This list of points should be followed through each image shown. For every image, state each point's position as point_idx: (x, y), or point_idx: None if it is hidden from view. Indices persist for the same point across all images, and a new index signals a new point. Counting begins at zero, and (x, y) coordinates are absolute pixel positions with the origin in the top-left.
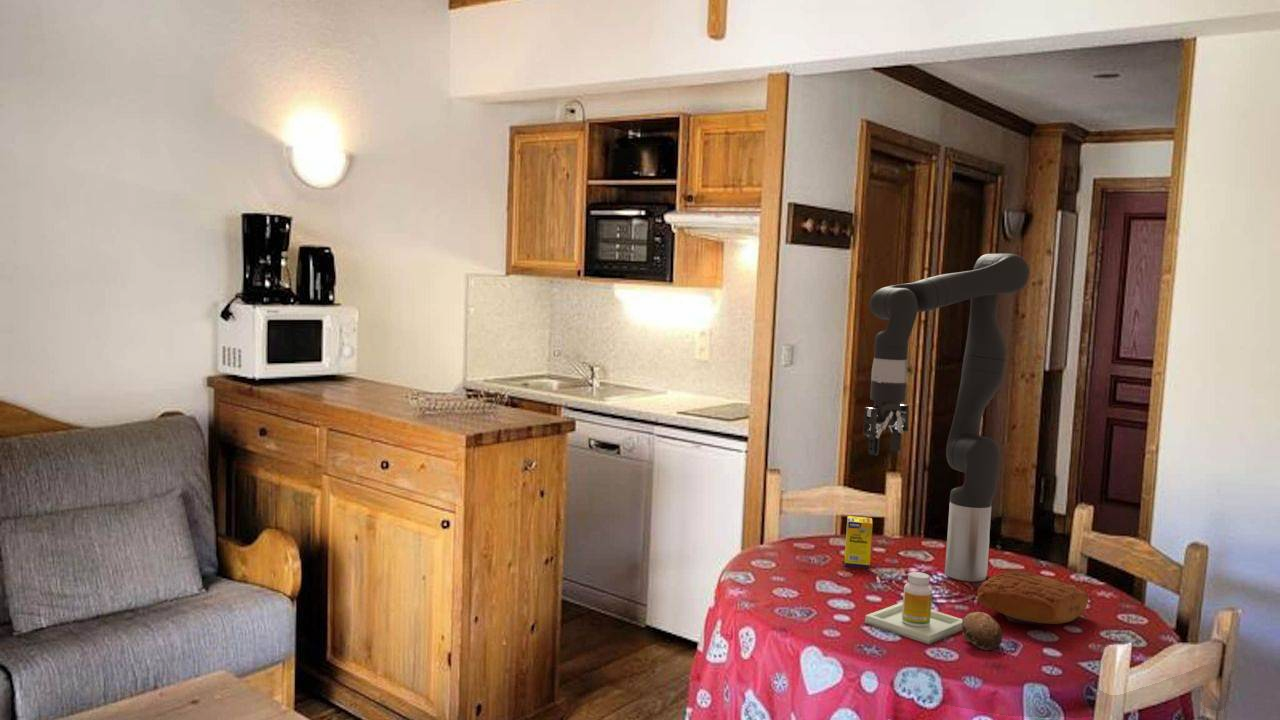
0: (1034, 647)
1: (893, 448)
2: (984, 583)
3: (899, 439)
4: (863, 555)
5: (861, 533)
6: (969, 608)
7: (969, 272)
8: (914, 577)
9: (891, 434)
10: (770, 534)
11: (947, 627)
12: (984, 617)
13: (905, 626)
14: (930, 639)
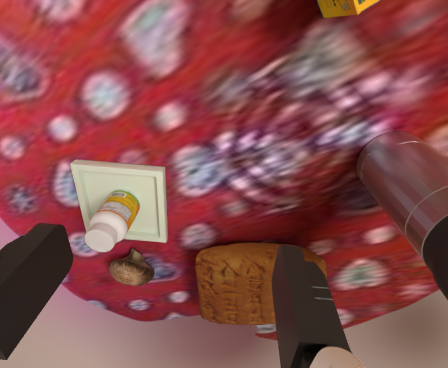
0: (176, 286)
1: (278, 269)
2: (214, 265)
3: (281, 355)
4: (323, 2)
5: None
6: (238, 216)
7: None
8: (85, 240)
9: (298, 342)
10: None
11: (126, 238)
12: (126, 283)
13: (86, 209)
14: None
